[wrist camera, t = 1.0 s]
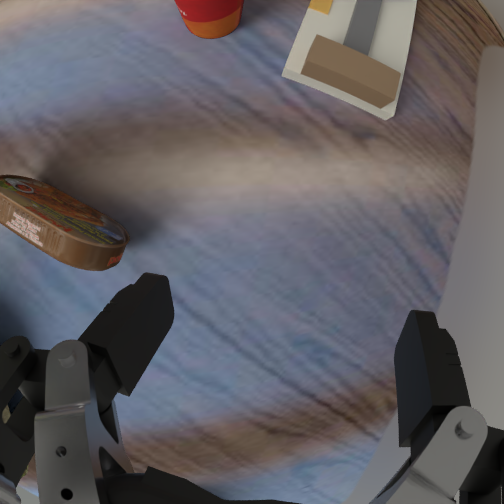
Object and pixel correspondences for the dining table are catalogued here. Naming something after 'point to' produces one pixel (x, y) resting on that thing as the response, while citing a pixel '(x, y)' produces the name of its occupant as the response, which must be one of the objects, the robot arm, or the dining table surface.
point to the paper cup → (210, 16)
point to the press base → (379, 49)
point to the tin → (60, 224)
